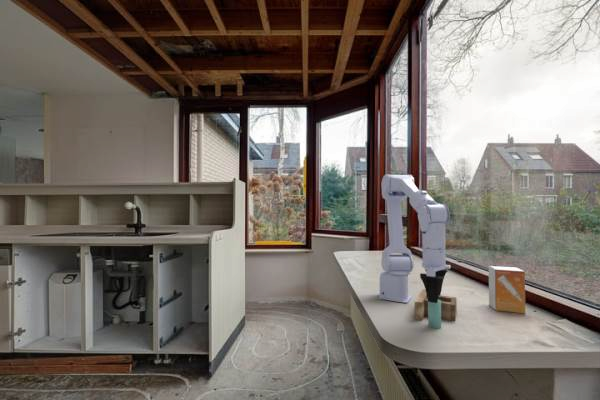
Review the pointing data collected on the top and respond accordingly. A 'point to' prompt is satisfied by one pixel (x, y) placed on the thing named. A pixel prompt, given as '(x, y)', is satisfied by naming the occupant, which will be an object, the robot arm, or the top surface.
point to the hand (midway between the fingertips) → (434, 298)
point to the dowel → (434, 314)
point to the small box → (507, 289)
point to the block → (445, 307)
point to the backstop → (420, 305)
